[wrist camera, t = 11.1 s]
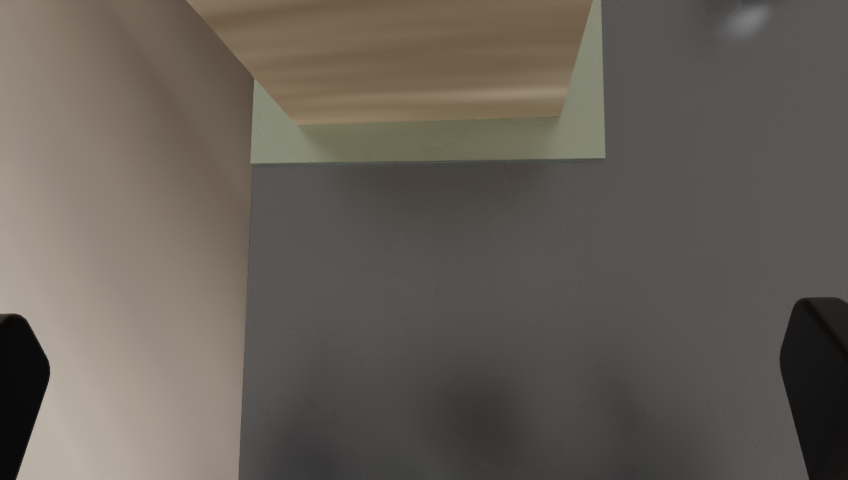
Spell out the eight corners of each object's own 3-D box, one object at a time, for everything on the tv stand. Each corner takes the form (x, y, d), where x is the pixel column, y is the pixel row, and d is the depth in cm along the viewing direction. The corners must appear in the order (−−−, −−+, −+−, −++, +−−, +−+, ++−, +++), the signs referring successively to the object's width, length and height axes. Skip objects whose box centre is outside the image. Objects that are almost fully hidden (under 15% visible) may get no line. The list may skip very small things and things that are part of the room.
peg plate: (982, 534, 16) (1239, 631, 10) (258, 511, 17) (150, 585, 12) (911, -180, 18) (1088, -404, 13) (285, -144, 20) (206, -331, 14)
